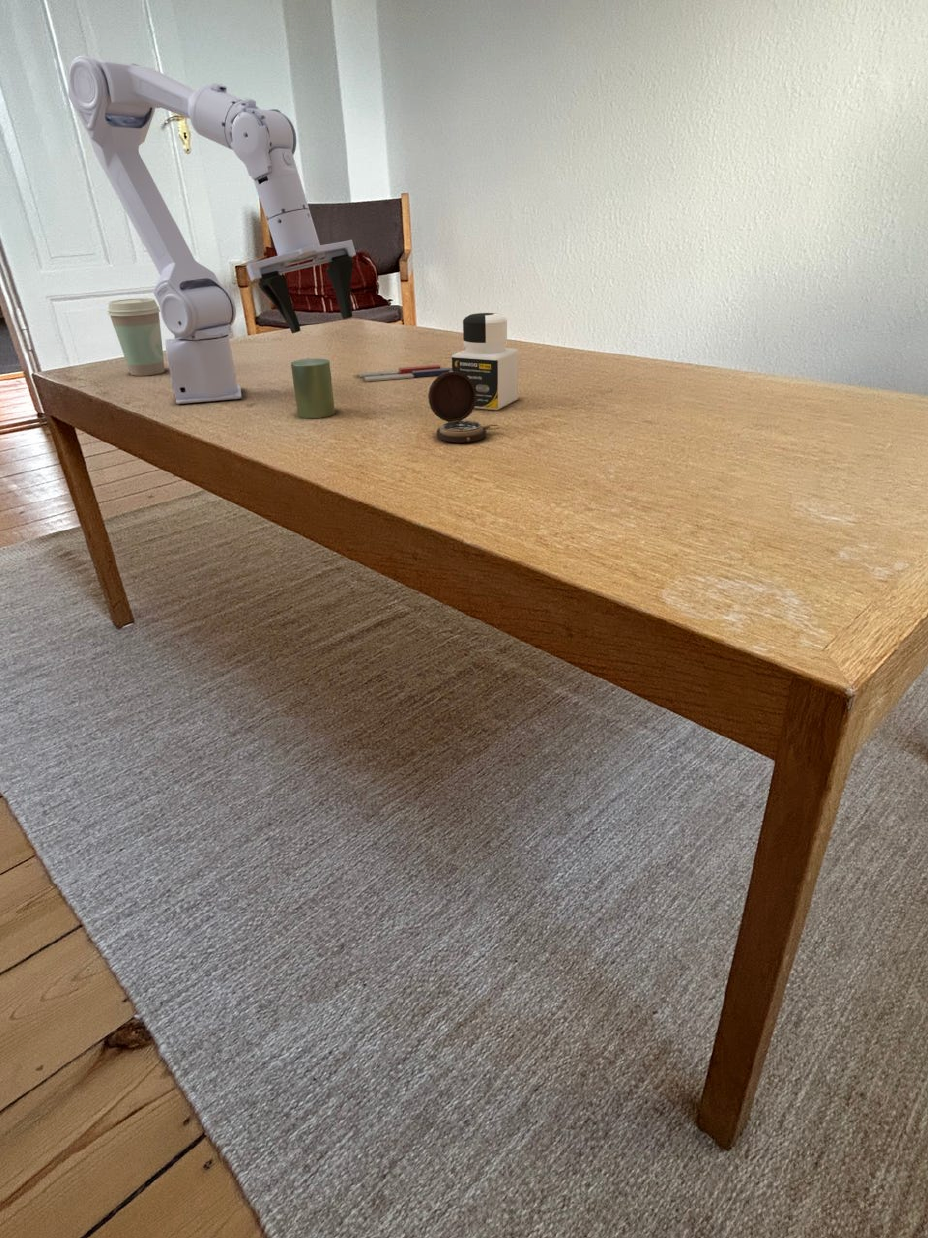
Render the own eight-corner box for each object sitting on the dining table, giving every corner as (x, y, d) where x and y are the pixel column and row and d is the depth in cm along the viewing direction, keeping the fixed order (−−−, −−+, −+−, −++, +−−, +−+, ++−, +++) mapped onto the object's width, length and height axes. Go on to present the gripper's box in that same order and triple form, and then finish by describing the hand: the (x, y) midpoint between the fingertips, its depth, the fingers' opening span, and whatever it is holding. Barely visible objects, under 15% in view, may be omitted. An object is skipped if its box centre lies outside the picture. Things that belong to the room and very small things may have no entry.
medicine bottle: (452, 406, 107) (449, 316, 101) (475, 395, 112) (473, 309, 106) (497, 411, 104) (497, 318, 98) (518, 399, 109) (519, 311, 103)
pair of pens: (360, 377, 126) (359, 372, 126) (358, 375, 128) (358, 370, 127) (440, 371, 129) (440, 366, 129) (438, 369, 131) (438, 364, 130)
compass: (444, 446, 90) (441, 384, 86) (429, 429, 96) (426, 371, 93) (507, 439, 91) (507, 378, 88) (488, 424, 98) (488, 366, 95)
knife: (366, 381, 123) (365, 376, 123) (364, 379, 125) (364, 374, 124) (454, 374, 127) (454, 369, 126) (451, 372, 128) (451, 367, 128)
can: (299, 419, 103) (292, 366, 99) (296, 411, 107) (289, 360, 104) (337, 416, 104) (331, 363, 100) (332, 407, 108) (327, 357, 105)
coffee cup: (162, 376, 131) (146, 302, 125) (114, 377, 131) (96, 304, 126) (179, 367, 139) (165, 297, 133) (134, 368, 139) (117, 298, 133)
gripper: (241, 219, 91) (280, 335, 96) (349, 197, 96) (380, 307, 101) (230, 232, 97) (267, 340, 102) (332, 210, 102) (362, 314, 107)
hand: (322, 325), depth 102 cm, fingers open, 7 cm apart
